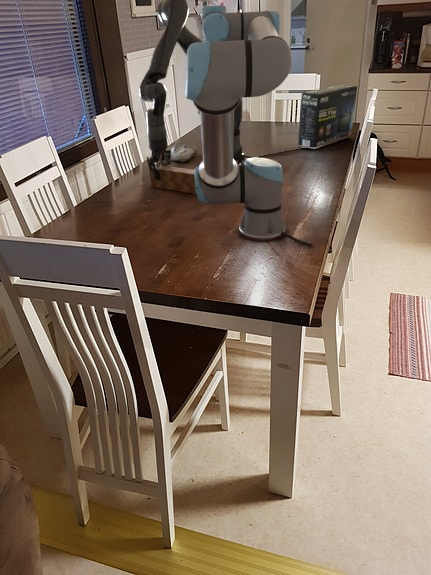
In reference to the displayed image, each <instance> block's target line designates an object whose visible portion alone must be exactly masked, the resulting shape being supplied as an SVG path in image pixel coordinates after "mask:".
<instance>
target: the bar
mask: <svg viewBox="0 0 431 575" xmlns="http://www.w3.org/2000/svg"><path fill="white" fill-rule="evenodd" d="M155 167H156V169H157V166H155ZM152 168H153V167H152ZM194 173H195V169H192V168H184V167H177V166H170V165H168V166H163V165H160V166H159V174H160V180H159V181H158V180H155V178H154V172H153V171H150V170H149V176H150V186H151V188H157V189H163V190H169V191H173V192H174V191H175V192H181V193H187V194H193V195H197V192H196V186H195V175H194Z"/></svg>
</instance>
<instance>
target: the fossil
mask: <svg viewBox="0 0 431 575" xmlns="http://www.w3.org/2000/svg"><path fill="white" fill-rule="evenodd" d="M170 150H171V161H174V162H177V161H179V162H180V163H185V162H187V161H188V160H190V159H191V158H192V157H193V156H194V155H197V154H198V153H199V150H198V148H197V146H195V145H188V146H187V145H186V143H184V142H183V143H181V142H176V143H175V145H174V146H173V147H172V148H171V149H170ZM167 160H168V158H167Z"/></svg>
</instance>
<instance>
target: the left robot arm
mask: <svg viewBox="0 0 431 575" xmlns="http://www.w3.org/2000/svg"><path fill="white" fill-rule="evenodd" d="M189 10H190V8H189V4H188V1H187V0H160V1H159V2H158V3H157V6H156V12H157V16H158V19H159V20H160V22H161V24H162V25H163V26H164V27H165V29H164V31H163V33H162V35H161V37H160V39H158V40H159V41H158V42H157V44H156V45H155V48H154V50H153V52H152V56H151V60H150V63H149V67H148V69H147V71H146V72H145V75H144V76H143V78H142V79H141V80H142V81H141V82H140V84H139V90H138V92H139V97H140V99H141V100H142V101H144V102H148V103H153V106H152V108H148V109H146V111H145V118H146V127H147V128H146V129H147V130H146V132H147V142H148V149H149V150H150V152H151V153H150V156H147V157H146V162H147V165H148V169H149V172H150V171H153V172H154V178H155V180H158V181H159V180H160V174H159V166H160V165H163V166H170V165H171V163H172V160H171V149H168V147H169V145H168V134H167V128H166V118H165V110H166V103H167V97H168V91H167V88H166V86H165V84H163V83H162V82H159V81H161V80H165V79H166V78H167V76H168V72H169V70H170V65H171V61H172V56H173V54H174V51H175V48H176V45H178V46H179V47H180V49H181V50H182V52H183V53H184V55H185V56H186V57H187V50H188V47H189V46H190V45H191V44H192V43H198V42H203V39H201V38H200V37H198V36H197V35H195V34H194V32H192V31H191V30H189V29H188V27H187V26H186V25H185V24H186V22H187V20H188V16H189ZM243 104H244V103H243V98H240V103H239V105H238V106H237V107H236V108H235V109H234V137H233V159H234V160H235V161H236V163H237V165H243V162H245V160H246V159H248V158H252V157H251V156H250V155H245V153H243V144H242V143H241V123H242V120H243ZM299 148H300V147H299ZM295 149H296V148H295ZM289 150H290V151H286V150H283V151H284V152H281V151H277V152H278V153H276V152H272V153H273V154H270V153H267V154H268V155H265V154H262V155H263V156H261V155H258V156H257V157H255V158H265V157H270V156H274V155H280V154H286V153H290V152H291V153H292V152H296V151H301V150H302V149H301V148H300V149H296V150H292V151H291V149H289ZM167 158H168V159H167ZM155 166H157V169H156V167H155ZM152 167H153V168H152Z"/></svg>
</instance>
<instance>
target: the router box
mask: <svg viewBox="0 0 431 575" xmlns="http://www.w3.org/2000/svg"><path fill="white" fill-rule="evenodd" d="M357 93H358V86H356V85H350V84H339V85H338V84H337V85H334V86H328V87H324V88H318V89H314V90H309V91H304V92H301V93H300V109H299V110H300V111H299V124H298V137H297V146H298V145H302V146H307V147H317V146H320V145H323V144H325V143H328V142H331V141H333V140H336V139H338V138H341V137H344V136H347V135H351V136H352V133H353V132H352V131H353V125H354V115H355V109H356V99H357ZM311 151H313V150H312V149H311Z"/></svg>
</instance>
